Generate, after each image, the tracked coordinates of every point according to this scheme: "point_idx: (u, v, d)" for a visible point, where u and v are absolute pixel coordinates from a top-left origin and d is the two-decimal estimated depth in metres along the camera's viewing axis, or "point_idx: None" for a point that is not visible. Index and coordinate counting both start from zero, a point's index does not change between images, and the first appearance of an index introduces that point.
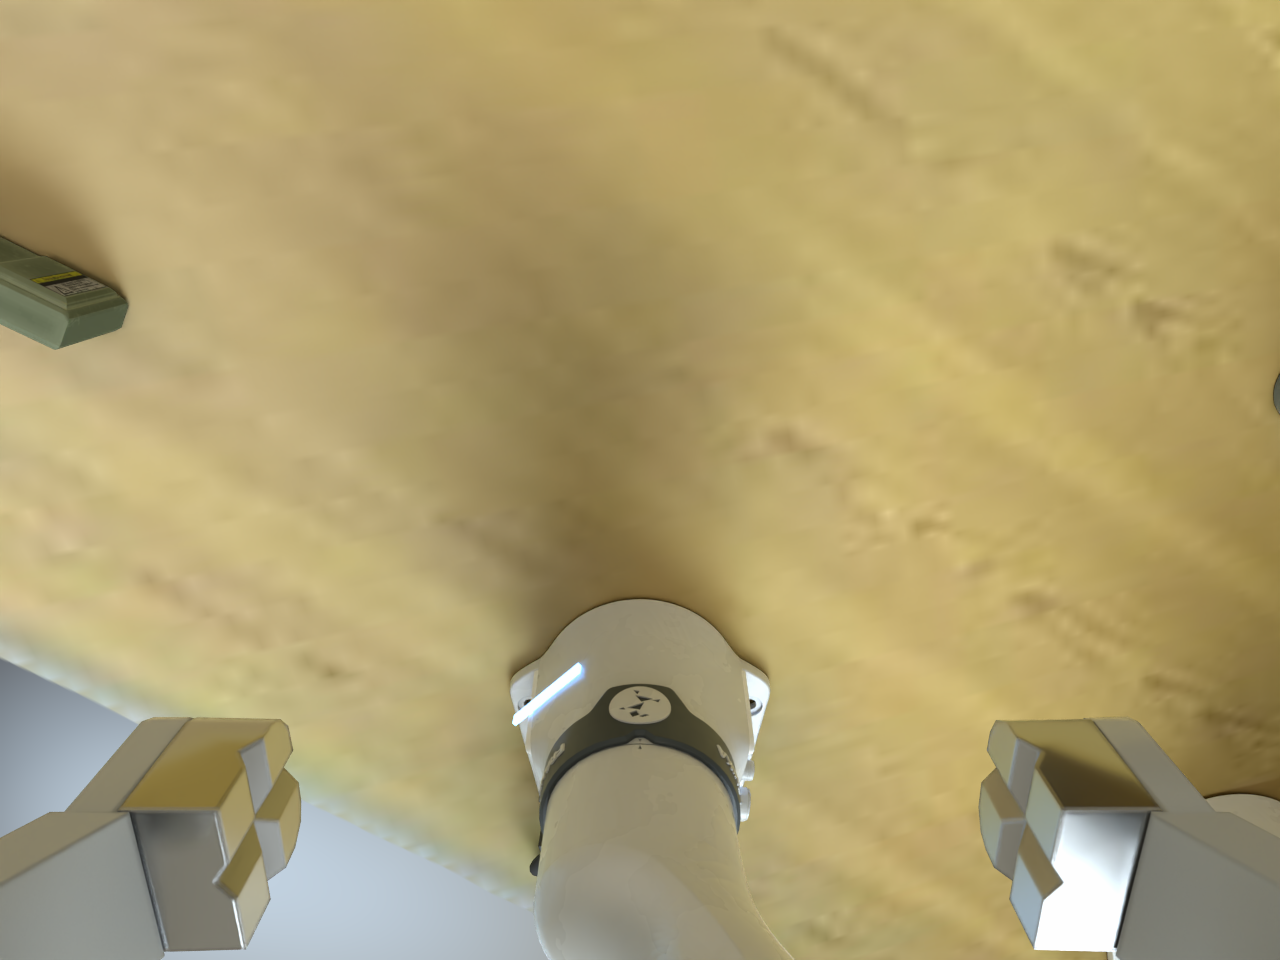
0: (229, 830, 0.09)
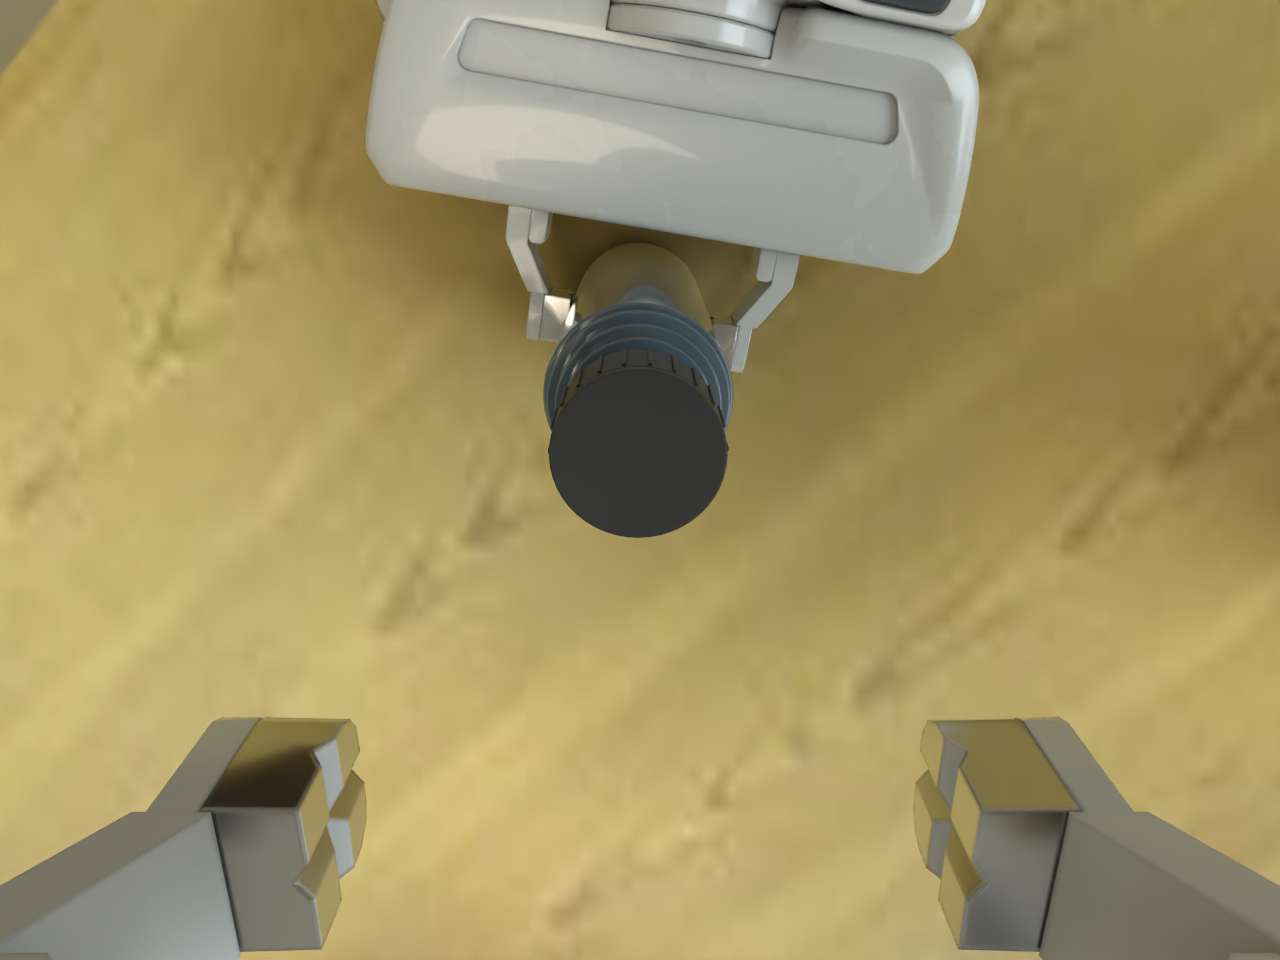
0: (308, 831, 0.09)
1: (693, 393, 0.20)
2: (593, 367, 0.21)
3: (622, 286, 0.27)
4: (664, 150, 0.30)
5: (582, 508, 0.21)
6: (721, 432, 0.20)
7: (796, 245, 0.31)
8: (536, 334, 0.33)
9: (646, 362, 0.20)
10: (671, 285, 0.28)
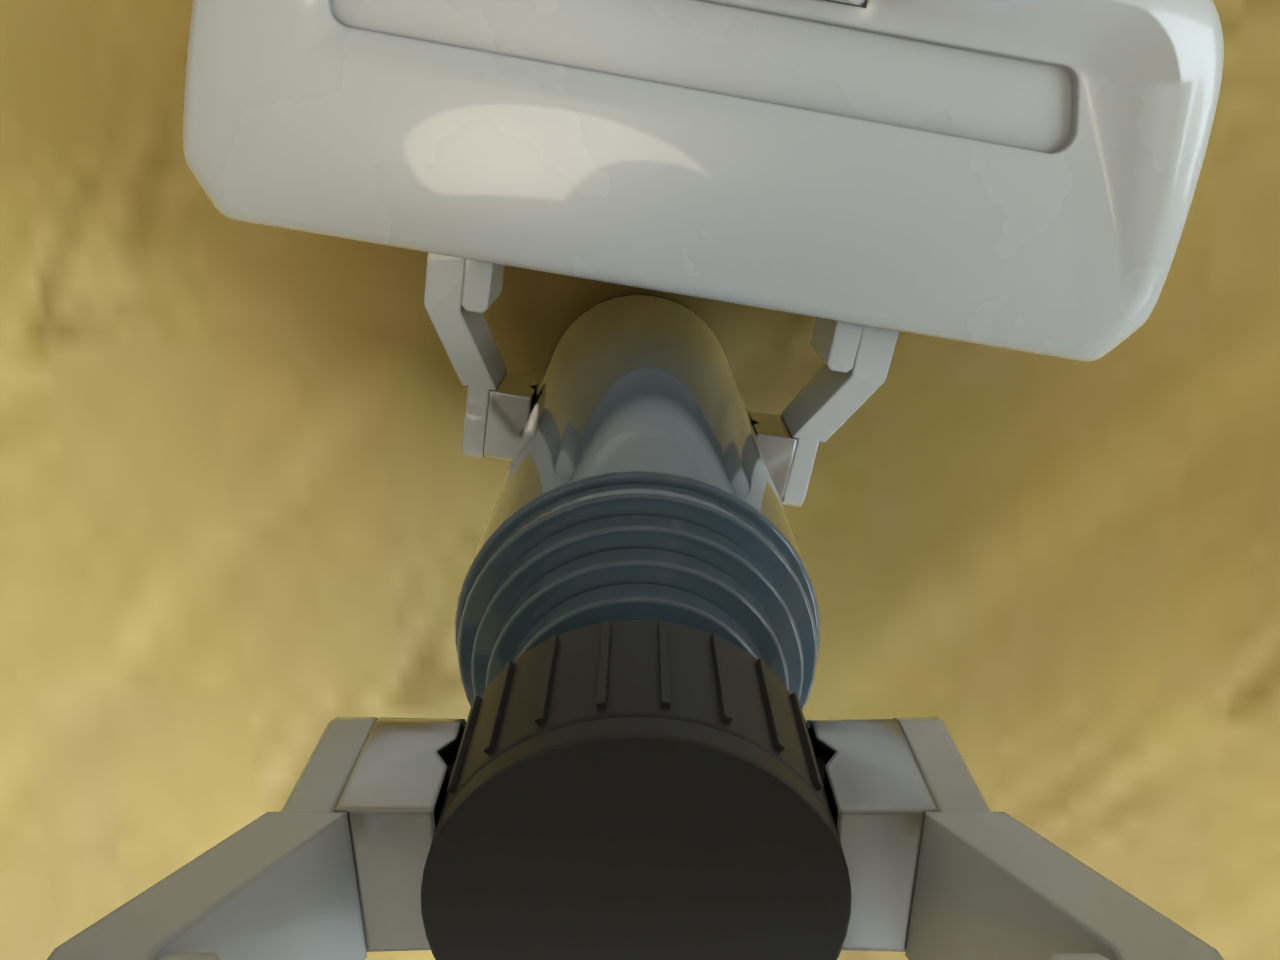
0: None
1: (774, 786, 0.08)
2: (533, 675, 0.09)
3: (609, 411, 0.15)
4: (682, 162, 0.18)
5: None
6: (839, 868, 0.08)
7: (897, 317, 0.19)
8: (478, 450, 0.21)
9: (656, 691, 0.08)
10: (696, 399, 0.16)
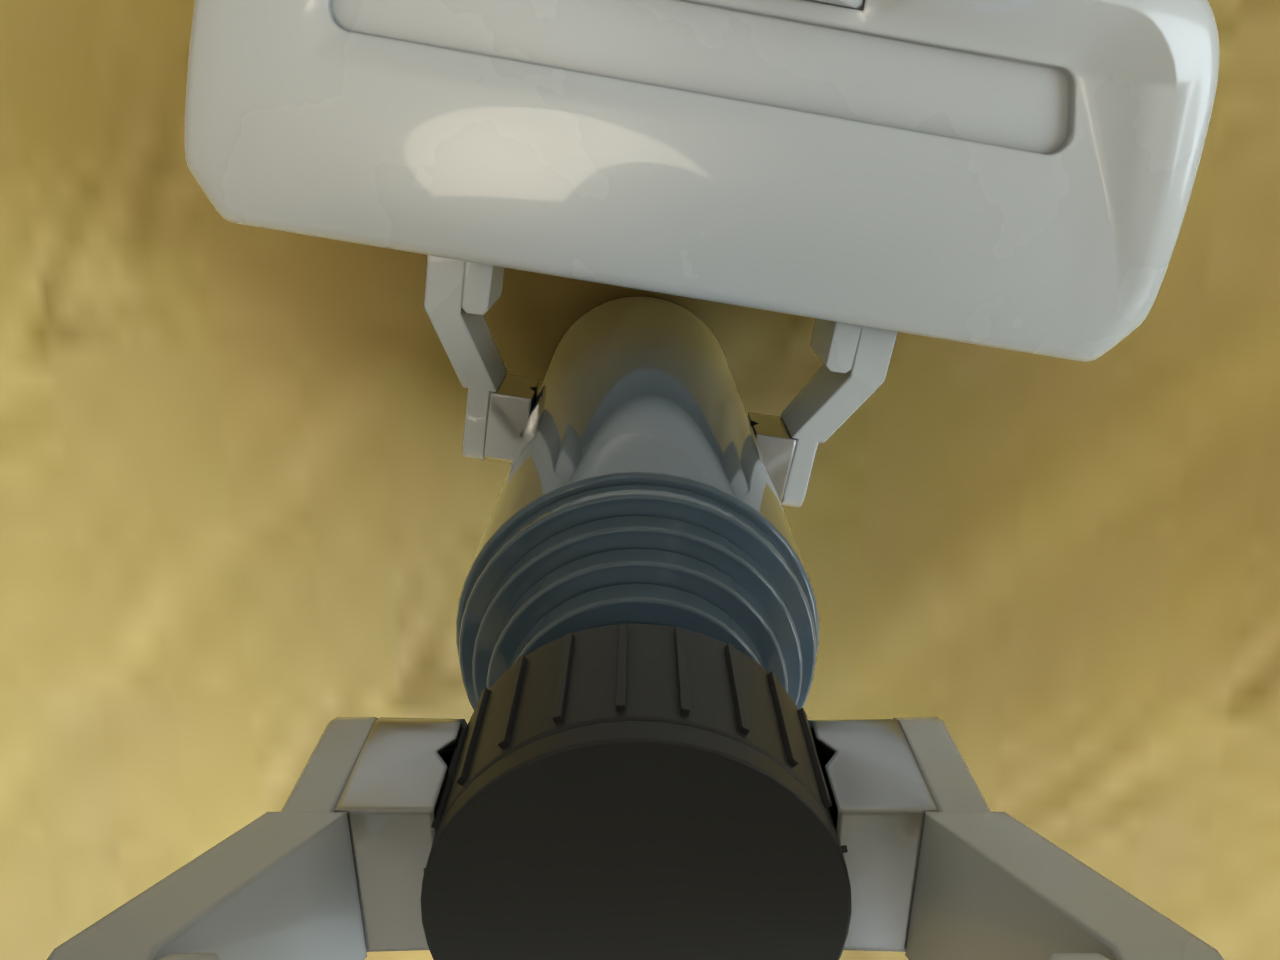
0: None
1: (503, 786, 0.08)
2: None
3: (609, 412, 0.15)
4: (681, 164, 0.18)
5: None
6: (619, 748, 0.08)
7: (895, 318, 0.19)
8: (479, 452, 0.21)
9: None
10: (695, 400, 0.16)
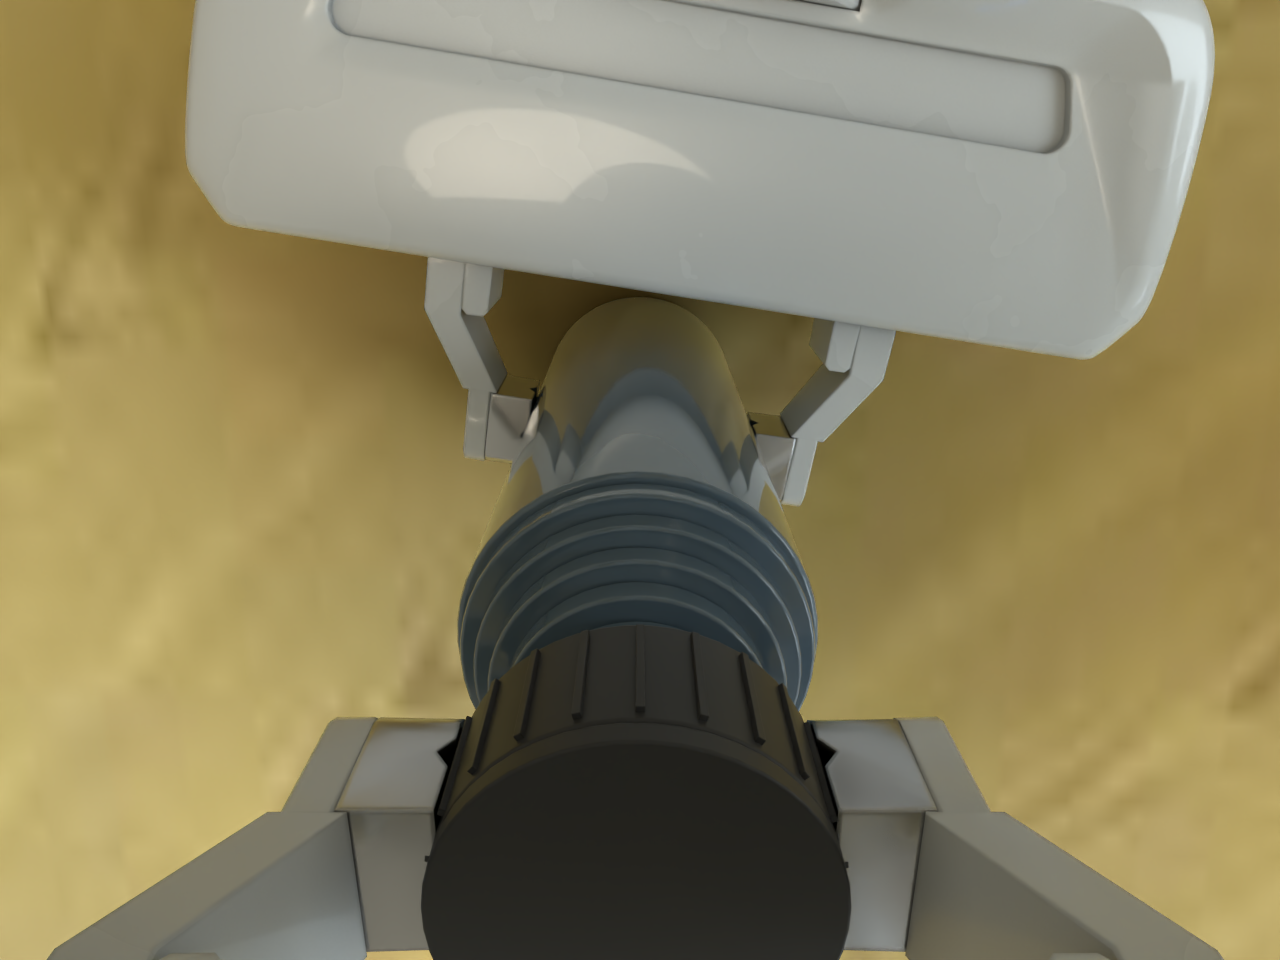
0: None
1: None
2: None
3: (608, 412, 0.15)
4: (679, 166, 0.18)
5: (823, 870, 0.08)
6: (427, 897, 0.08)
7: (894, 317, 0.19)
8: (480, 452, 0.21)
9: None
10: (694, 400, 0.16)
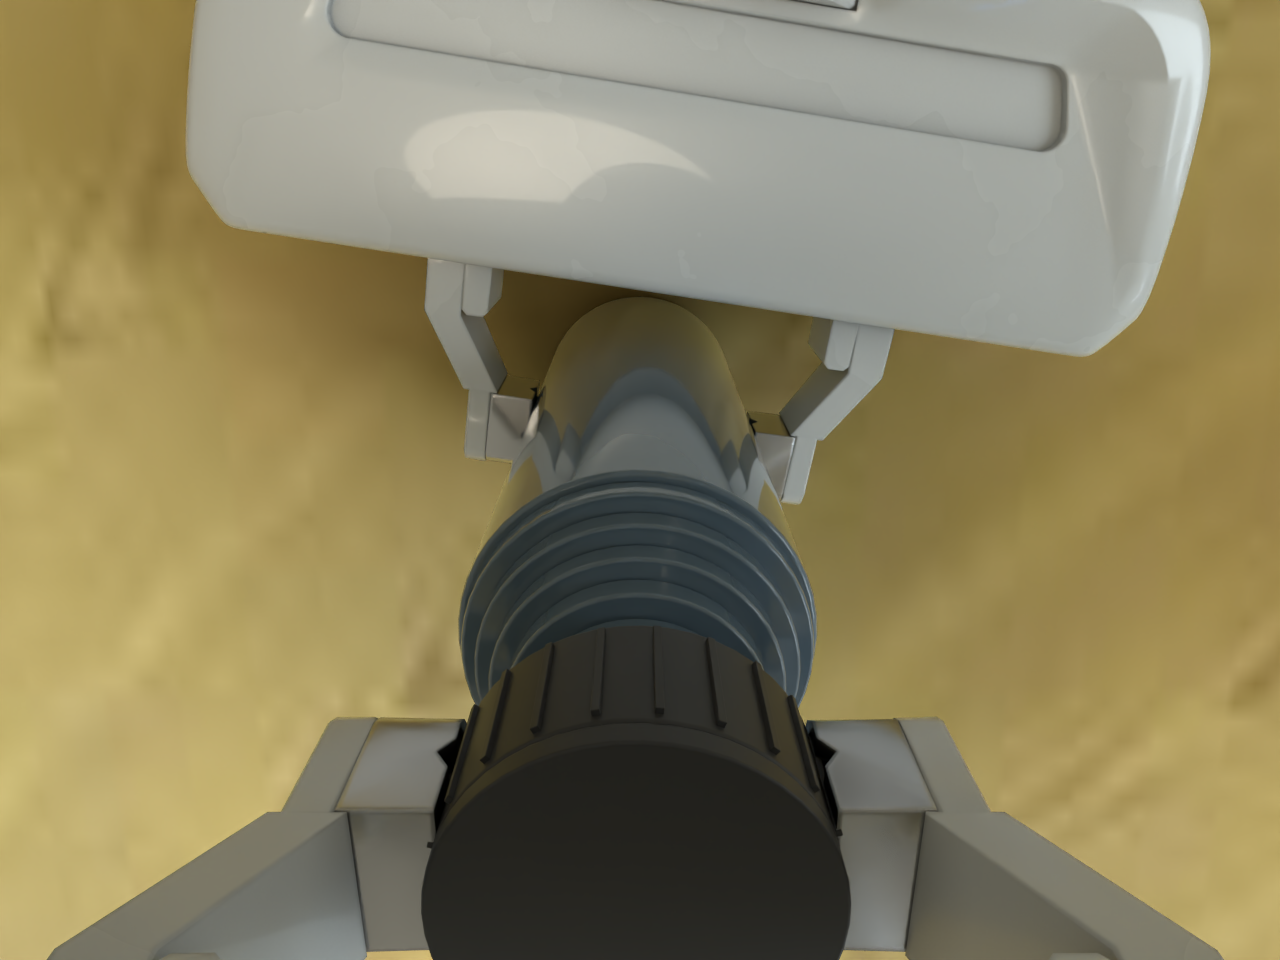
0: None
1: None
2: None
3: (607, 411, 0.15)
4: (677, 165, 0.18)
5: (616, 760, 0.08)
6: None
7: (892, 315, 0.19)
8: (480, 452, 0.21)
9: None
10: (693, 399, 0.16)
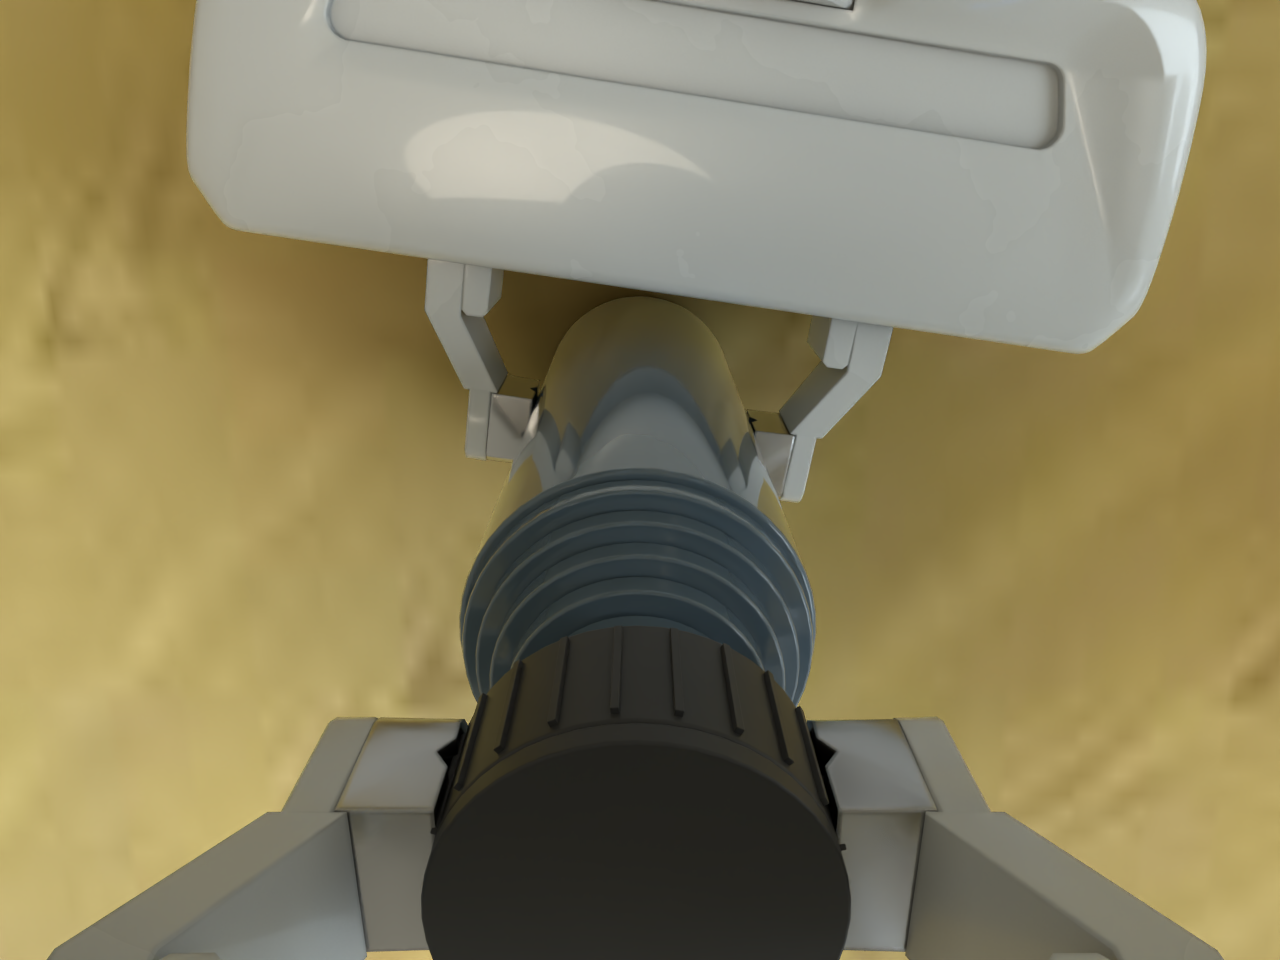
0: None
1: (839, 926, 0.09)
2: (708, 667, 0.09)
3: (607, 410, 0.15)
4: (676, 165, 0.18)
5: (442, 898, 0.08)
6: None
7: (891, 314, 0.19)
8: (481, 452, 0.21)
9: (813, 780, 0.09)
10: (692, 397, 0.16)
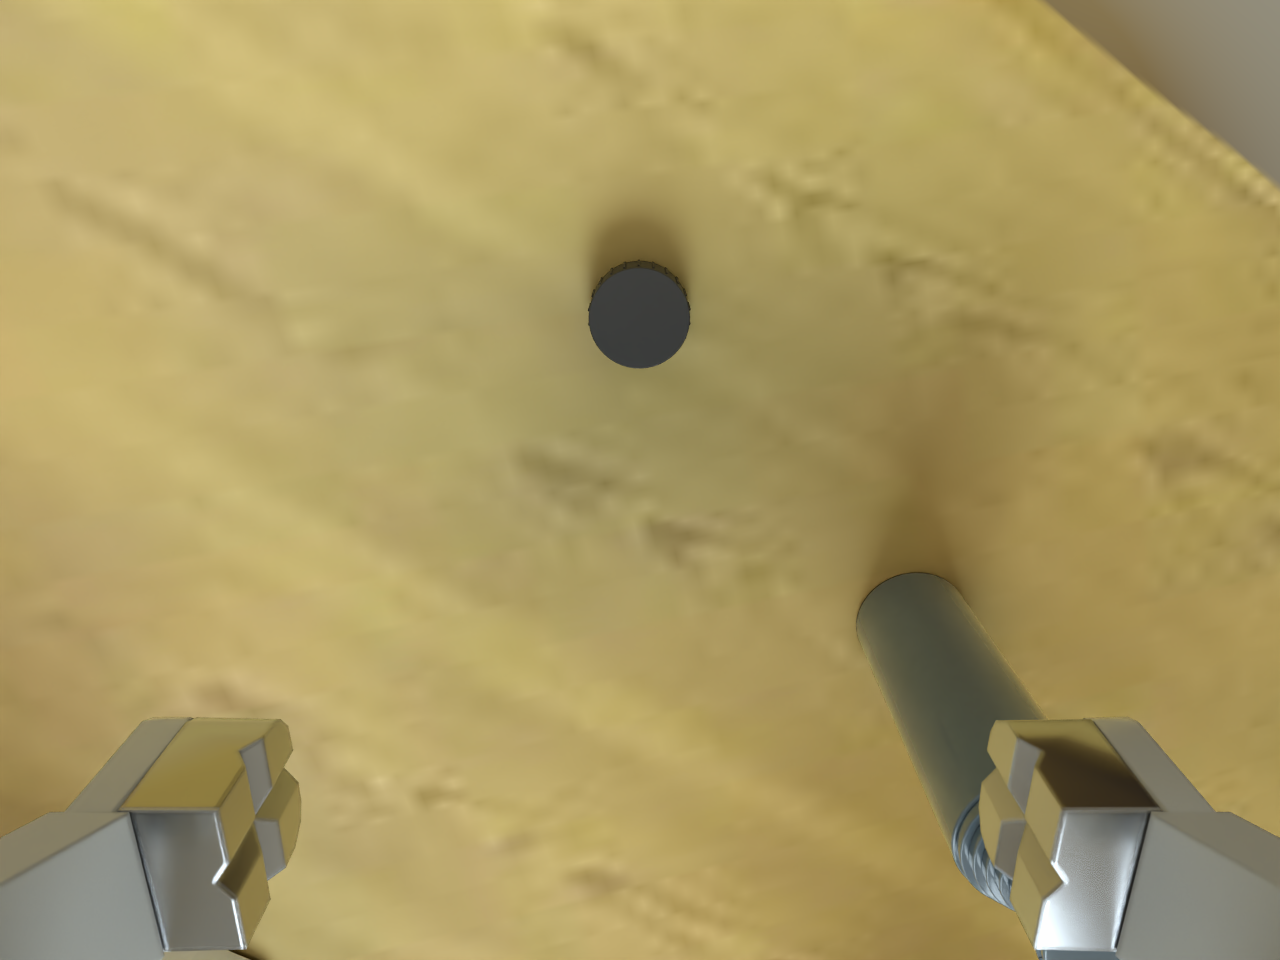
0: (228, 830, 0.09)
1: (652, 272, 0.36)
2: (598, 284, 0.37)
3: None
4: None
5: (623, 360, 0.37)
6: (676, 286, 0.36)
7: None
8: None
9: (622, 268, 0.36)
10: None
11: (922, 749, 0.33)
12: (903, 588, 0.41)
